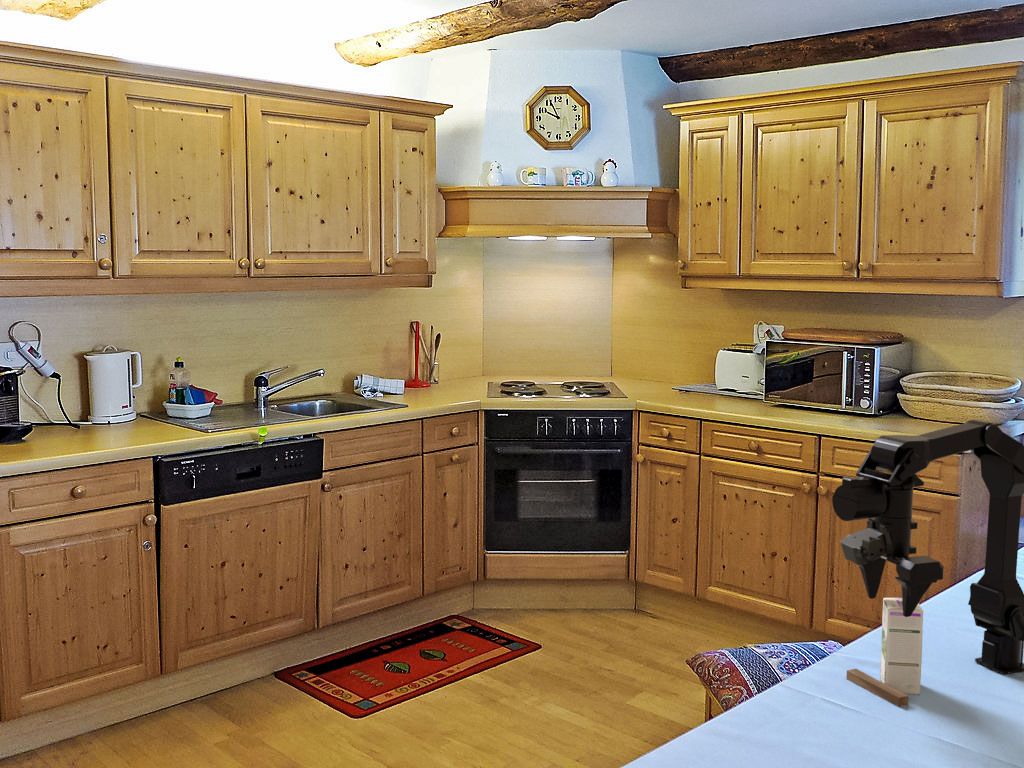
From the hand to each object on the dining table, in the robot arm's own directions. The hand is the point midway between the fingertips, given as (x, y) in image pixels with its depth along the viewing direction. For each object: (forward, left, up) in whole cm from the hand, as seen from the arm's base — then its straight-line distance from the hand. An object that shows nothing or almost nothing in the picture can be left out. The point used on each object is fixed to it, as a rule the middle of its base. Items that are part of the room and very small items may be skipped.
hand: (889, 607), depth 170 cm
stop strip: (+2, 0, -14) cm, 14 cm away
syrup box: (-3, 0, -14) cm, 15 cm away
